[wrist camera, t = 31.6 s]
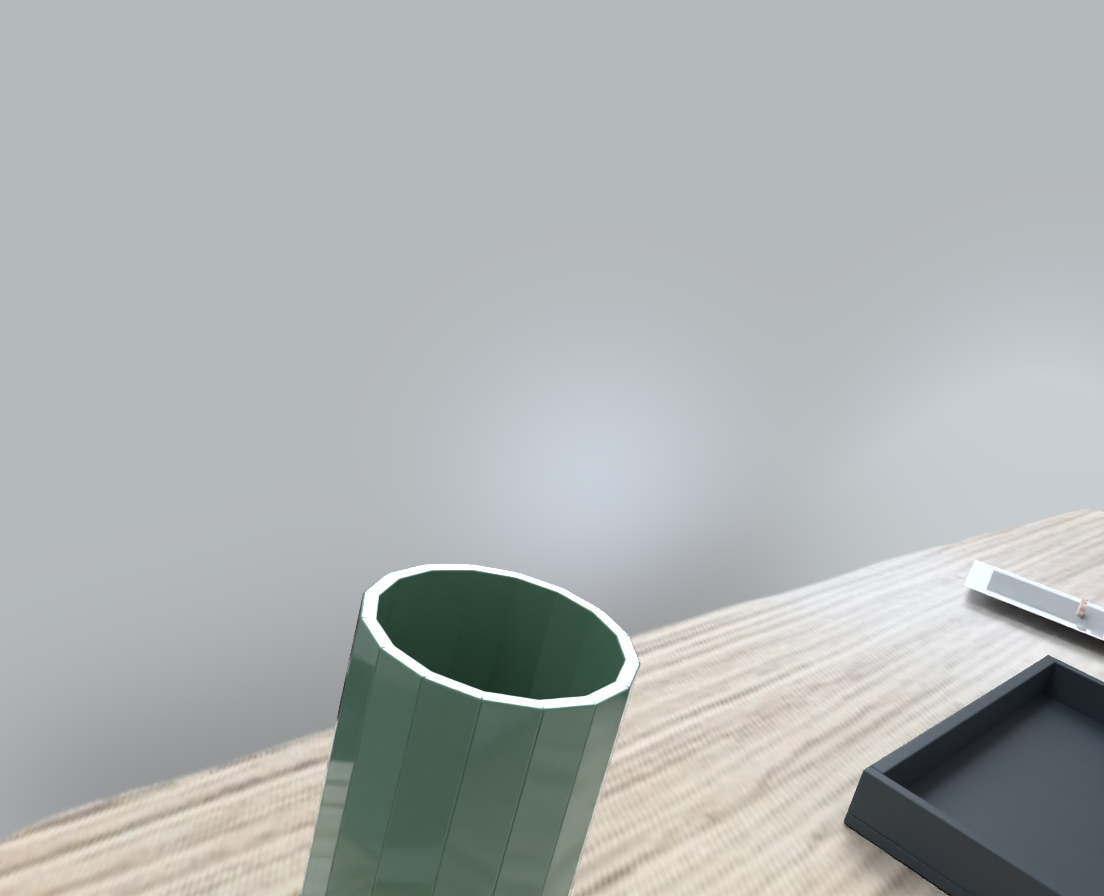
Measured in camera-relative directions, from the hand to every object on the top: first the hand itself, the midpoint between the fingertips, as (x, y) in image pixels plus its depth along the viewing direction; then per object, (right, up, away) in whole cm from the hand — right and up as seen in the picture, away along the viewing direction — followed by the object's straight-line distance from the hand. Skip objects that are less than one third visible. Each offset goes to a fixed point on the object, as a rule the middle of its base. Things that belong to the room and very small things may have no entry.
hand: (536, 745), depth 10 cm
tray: (+24, -14, +34) cm, 44 cm away
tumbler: (-4, -12, +17) cm, 21 cm away
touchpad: (+37, -10, +59) cm, 70 cm away
